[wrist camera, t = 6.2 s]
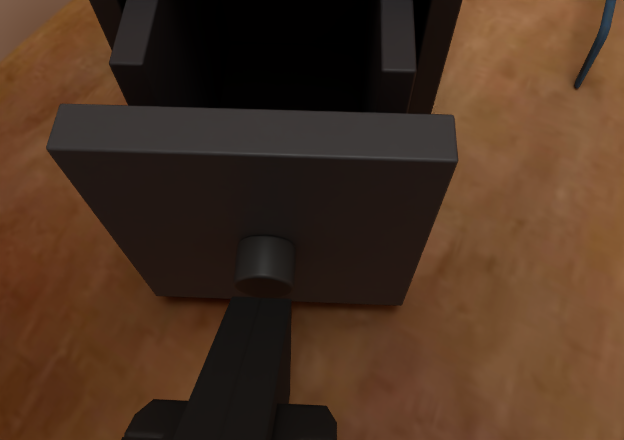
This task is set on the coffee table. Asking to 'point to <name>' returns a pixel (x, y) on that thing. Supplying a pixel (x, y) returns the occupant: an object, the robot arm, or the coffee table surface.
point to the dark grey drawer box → (428, 42)
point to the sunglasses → (597, 41)
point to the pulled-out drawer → (263, 149)
